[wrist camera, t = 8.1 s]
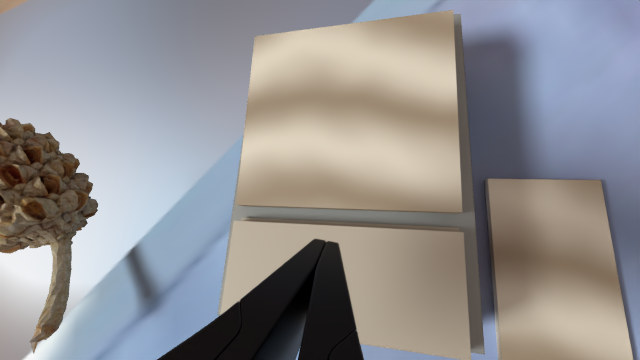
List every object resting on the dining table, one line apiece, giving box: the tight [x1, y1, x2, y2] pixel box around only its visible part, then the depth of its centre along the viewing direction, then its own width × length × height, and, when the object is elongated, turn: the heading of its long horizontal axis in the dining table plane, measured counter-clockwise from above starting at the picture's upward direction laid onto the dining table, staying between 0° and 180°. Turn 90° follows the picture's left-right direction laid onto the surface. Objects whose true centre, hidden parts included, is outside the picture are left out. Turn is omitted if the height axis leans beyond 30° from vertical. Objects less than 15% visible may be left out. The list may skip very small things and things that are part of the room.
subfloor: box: [218, 14, 485, 360], centre depth 20 cm, size 22×16×6 cm
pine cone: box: [0, 118, 98, 353], centre depth 24 cm, size 22×10×10 cm, turn 36°
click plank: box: [236, 10, 462, 214], centre depth 18 cm, size 13×14×1 cm
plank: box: [485, 179, 633, 360], centre depth 18 cm, size 13×7×1 cm, turn 176°
